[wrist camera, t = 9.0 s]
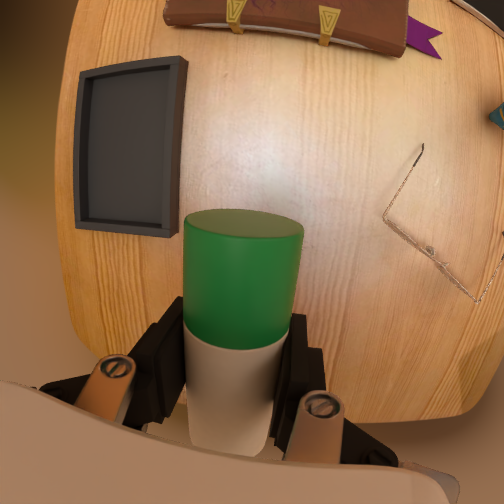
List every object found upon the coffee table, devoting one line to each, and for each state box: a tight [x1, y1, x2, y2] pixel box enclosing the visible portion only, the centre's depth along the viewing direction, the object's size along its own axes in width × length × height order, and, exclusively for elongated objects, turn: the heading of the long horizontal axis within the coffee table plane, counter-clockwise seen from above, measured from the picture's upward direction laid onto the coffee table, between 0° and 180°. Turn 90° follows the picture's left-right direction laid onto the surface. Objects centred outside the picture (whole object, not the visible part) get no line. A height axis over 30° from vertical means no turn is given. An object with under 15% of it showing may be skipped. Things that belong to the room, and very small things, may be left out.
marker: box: [183, 209, 304, 457], centre depth 11 cm, size 10×4×4 cm, turn 175°
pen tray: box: [73, 56, 188, 238], centre depth 24 cm, size 16×11×2 cm
